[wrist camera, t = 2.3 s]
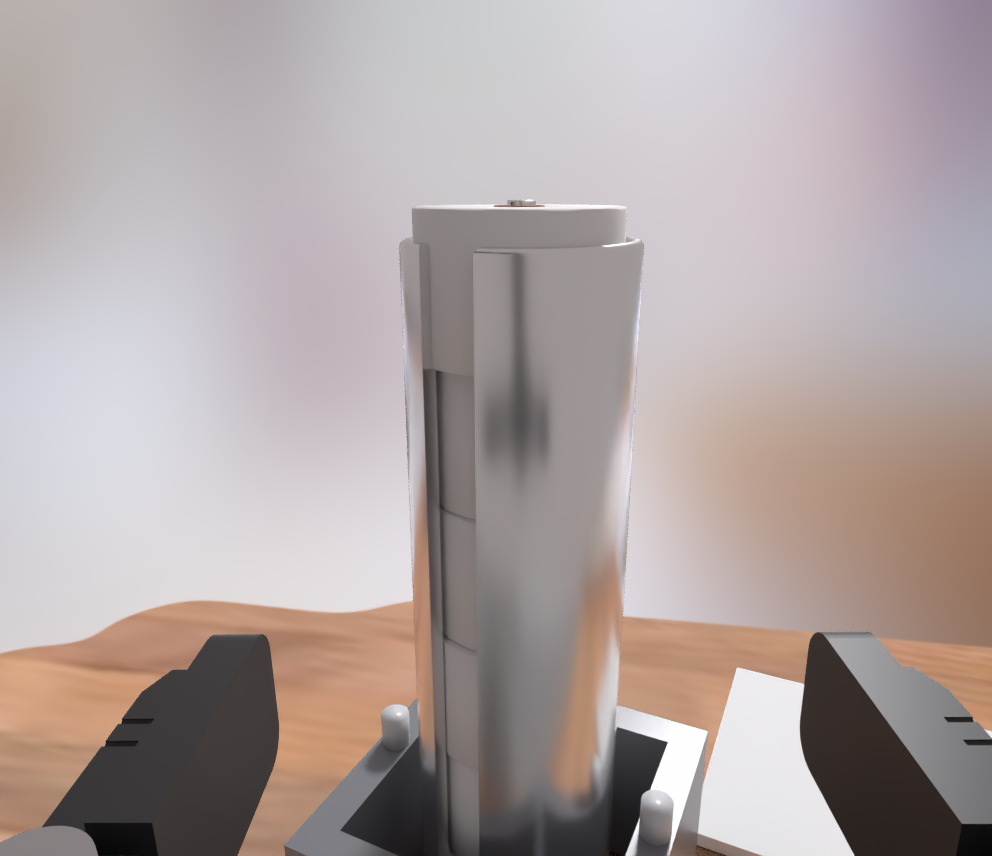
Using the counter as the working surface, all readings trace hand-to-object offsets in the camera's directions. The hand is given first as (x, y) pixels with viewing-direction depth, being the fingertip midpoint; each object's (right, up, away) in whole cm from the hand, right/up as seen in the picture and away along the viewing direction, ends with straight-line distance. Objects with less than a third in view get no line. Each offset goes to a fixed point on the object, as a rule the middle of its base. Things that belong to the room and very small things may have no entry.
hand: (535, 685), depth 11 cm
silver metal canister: (0, -14, +16) cm, 22 cm away
